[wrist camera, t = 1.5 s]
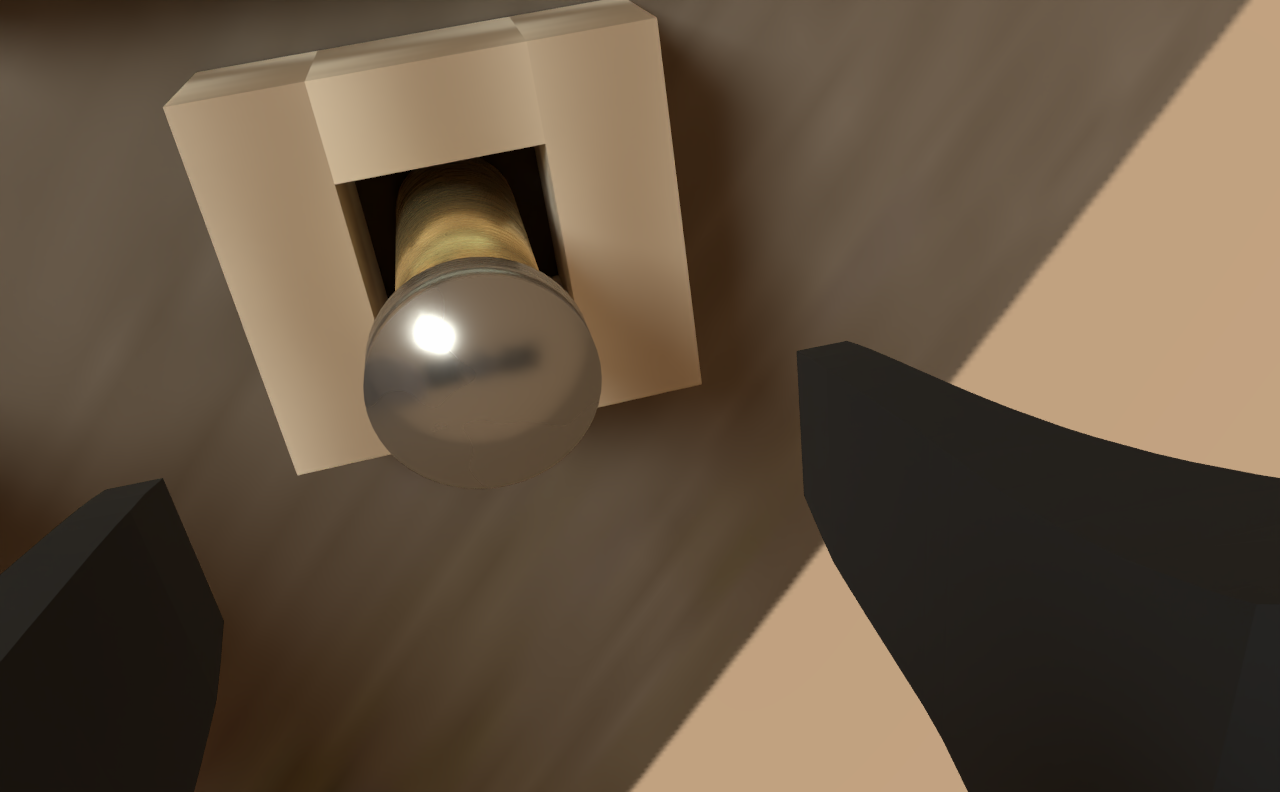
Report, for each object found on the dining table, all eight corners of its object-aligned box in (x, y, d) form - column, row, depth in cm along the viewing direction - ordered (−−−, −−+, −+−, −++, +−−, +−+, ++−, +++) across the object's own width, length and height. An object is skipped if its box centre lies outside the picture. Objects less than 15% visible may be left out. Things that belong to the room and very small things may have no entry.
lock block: (309, 402, 22) (297, 474, 19) (196, 72, 18) (163, 107, 16) (667, 324, 23) (701, 384, 20) (622, -4, 19) (656, 18, 17)
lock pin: (398, 299, 21) (398, 511, 14) (356, 149, 20) (333, 306, 13) (548, 268, 22) (617, 460, 15) (518, 118, 20) (582, 255, 13)
